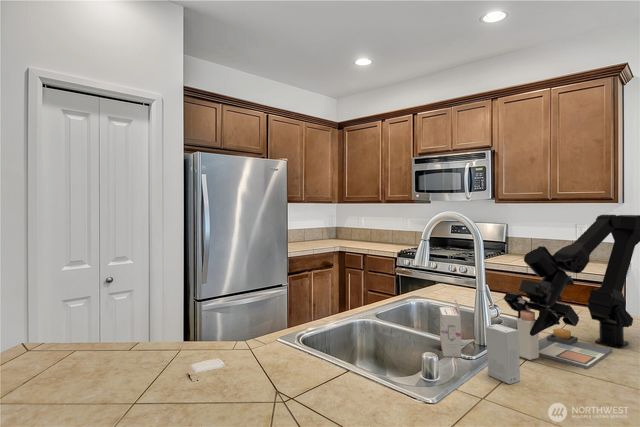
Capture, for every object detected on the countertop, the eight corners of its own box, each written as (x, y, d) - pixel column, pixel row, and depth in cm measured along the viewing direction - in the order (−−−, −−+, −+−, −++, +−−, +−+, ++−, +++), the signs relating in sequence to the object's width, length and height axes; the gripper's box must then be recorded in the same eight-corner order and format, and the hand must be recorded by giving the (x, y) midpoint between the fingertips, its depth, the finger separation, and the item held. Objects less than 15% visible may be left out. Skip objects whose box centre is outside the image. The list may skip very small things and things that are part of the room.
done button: (557, 332, 116) (557, 327, 116) (573, 336, 112) (573, 331, 112) (550, 335, 113) (550, 330, 113) (567, 339, 110) (567, 334, 110)
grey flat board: (550, 337, 118) (550, 331, 118) (612, 352, 105) (612, 345, 105) (522, 350, 108) (522, 343, 108) (587, 369, 95) (587, 361, 95)
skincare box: (521, 381, 89) (520, 329, 89) (508, 385, 87) (507, 332, 87) (498, 371, 94) (497, 323, 94) (485, 375, 93) (485, 325, 92)
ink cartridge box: (439, 345, 113) (438, 296, 113) (456, 346, 112) (456, 297, 112) (442, 356, 104) (442, 303, 104) (461, 357, 103) (461, 304, 103)
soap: (220, 365, 102) (220, 355, 102) (229, 374, 96) (228, 363, 96) (186, 374, 97) (185, 363, 97) (192, 384, 91) (192, 372, 91)
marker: (526, 353, 105) (526, 309, 105) (538, 357, 102) (538, 312, 101) (517, 355, 103) (517, 311, 103) (529, 359, 100) (529, 314, 100)
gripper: (507, 264, 112) (480, 306, 108) (571, 273, 95) (542, 323, 91) (525, 288, 116) (500, 330, 111) (590, 301, 99) (564, 350, 94)
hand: (524, 332), depth 102 cm, fingers closed on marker, 4 cm apart
